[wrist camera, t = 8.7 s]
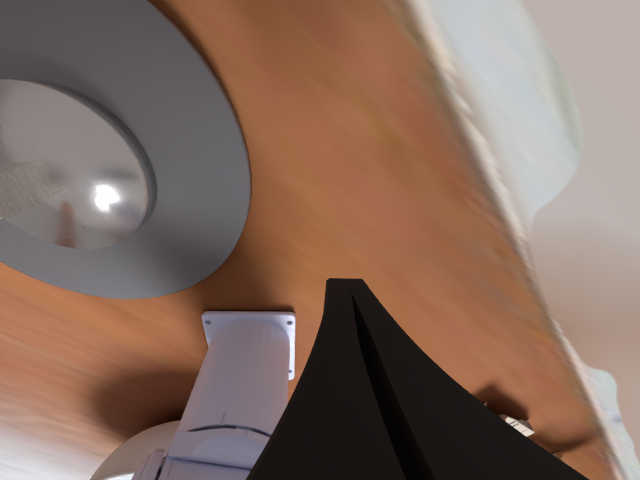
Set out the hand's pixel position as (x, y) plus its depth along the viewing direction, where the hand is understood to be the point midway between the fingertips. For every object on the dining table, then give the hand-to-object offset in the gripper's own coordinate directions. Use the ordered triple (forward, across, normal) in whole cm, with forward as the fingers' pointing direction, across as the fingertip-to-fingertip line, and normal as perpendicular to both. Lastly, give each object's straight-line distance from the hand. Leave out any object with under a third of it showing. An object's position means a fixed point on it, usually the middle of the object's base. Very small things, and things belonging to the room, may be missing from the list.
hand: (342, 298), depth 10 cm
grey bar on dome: (+8, +17, -2) cm, 19 cm away
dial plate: (+9, +15, -2) cm, 18 cm away
